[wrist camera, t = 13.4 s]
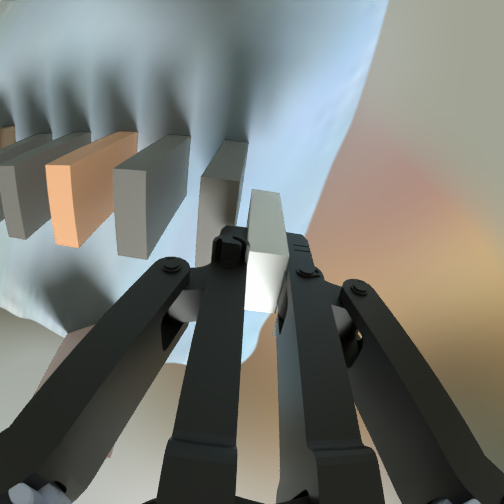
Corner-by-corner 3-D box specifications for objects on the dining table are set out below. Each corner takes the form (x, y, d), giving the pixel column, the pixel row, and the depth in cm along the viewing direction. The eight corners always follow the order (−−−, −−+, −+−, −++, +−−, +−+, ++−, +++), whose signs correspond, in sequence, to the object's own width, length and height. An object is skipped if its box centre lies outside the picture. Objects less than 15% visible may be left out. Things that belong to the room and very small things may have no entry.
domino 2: (76, 185, 24) (8, 236, 16) (74, 132, 22) (-4, 166, 13) (92, 186, 24) (26, 239, 16) (90, 131, 22) (14, 165, 13)
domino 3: (165, 193, 25) (118, 255, 16) (168, 134, 22) (112, 168, 13) (186, 195, 25) (147, 259, 16) (190, 136, 22) (146, 171, 13)
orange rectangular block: (137, 132, 22) (69, 165, 13) (136, 189, 24) (78, 248, 16) (118, 131, 22) (45, 164, 13) (118, 187, 24) (55, 244, 16)
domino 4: (218, 199, 25) (194, 267, 16) (225, 139, 22) (201, 176, 14) (240, 202, 25) (228, 271, 16) (248, 142, 22) (239, 181, 14)
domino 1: (41, 182, 24) (-26, 230, 15) (38, 133, 21) (-38, 167, 13) (54, 183, 24) (-14, 232, 15) (52, 132, 21) (-26, 166, 13)
